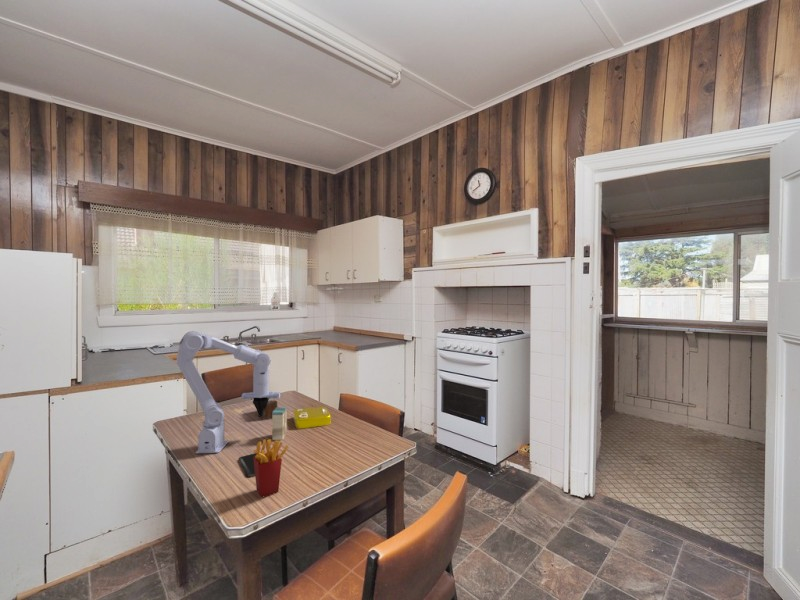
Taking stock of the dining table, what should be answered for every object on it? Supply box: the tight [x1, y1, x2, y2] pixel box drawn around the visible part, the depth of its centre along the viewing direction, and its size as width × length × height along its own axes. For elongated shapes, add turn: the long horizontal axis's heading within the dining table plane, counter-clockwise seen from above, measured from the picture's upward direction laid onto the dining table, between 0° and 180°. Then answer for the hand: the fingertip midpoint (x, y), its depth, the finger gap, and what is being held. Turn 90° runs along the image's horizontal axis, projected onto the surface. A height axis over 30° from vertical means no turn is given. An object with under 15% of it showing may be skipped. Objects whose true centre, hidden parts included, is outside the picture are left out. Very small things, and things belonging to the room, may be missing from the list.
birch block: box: [271, 406, 287, 441], centre depth 140 cm, size 6×4×11 cm, turn 5°
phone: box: [238, 451, 261, 479], centre depth 117 cm, size 8×1×15 cm
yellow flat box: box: [293, 405, 332, 430], centre depth 158 cm, size 15×15×5 cm
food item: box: [262, 398, 279, 420], centre depth 166 cm, size 14×8×10 cm, turn 34°
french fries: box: [253, 438, 290, 498], centre depth 103 cm, size 9×8×15 cm
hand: (261, 416), depth 140 cm, fingers closed
